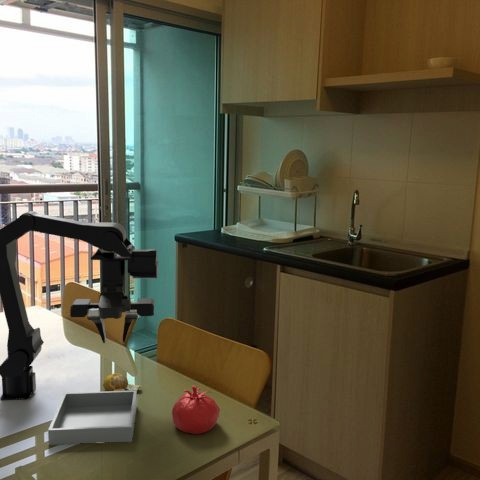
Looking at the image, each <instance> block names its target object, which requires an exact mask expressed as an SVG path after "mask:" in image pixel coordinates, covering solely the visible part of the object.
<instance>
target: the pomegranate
mask: <svg viewBox="0 0 480 480" xmlns="http://www.w3.org/2000/svg"><path fill="white" fill-rule="evenodd" d="M191 389H192V392H191V391H190V390H186V389H182V391H183V392H184V394H183V395H181V396H180V397H179V398H178V399H177V401H175V402H174V404H173V407H172V411H171V416H172V422H173V425H174V426H175V427H176V429H178V430H179V431H182V432H183V433H187V434H188V433H189V434H193V435H200V434H203V433H206V432H209V431H210V430H211V429H213V428H214V427H215V426H216V425H217V422H218V419H219V418H220V410H221V409H220V406H219V405H218V404H217V403H216V401H215V400H214V399H213V398H212V397H210V396H209V395H207V394H206V393H208V391H204V392H199V391H200V390H201V387H197V386H196V385H195V384H194V385H192V386H191ZM209 393H211V394H212V393H213V391H209Z"/></svg>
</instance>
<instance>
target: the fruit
mask: <svg viewBox="0 0 480 480" xmlns="http://www.w3.org/2000/svg"><path fill="white" fill-rule="evenodd" d="M102 386H103V389H104V390H105V391H126V390H131V391H135V390H137V391H139V390H140V389H141V388H142V385H140V384H138V385H136V384H130V383H129V381H128V378H127V377H126V376H125V375H124V374H123V373H122V372H116V373H115V372H114V373H112V374H109V375H107V376H106V377H105V379H104V380H103V384H102Z"/></svg>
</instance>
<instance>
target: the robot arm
mask: <svg viewBox="0 0 480 480" xmlns="http://www.w3.org/2000/svg"><path fill="white" fill-rule="evenodd" d="M29 232H34V233H35V232H36V233H40V234H46V235H50V236H57V237H63V238H68V239H73V240H78V241H82V242H85V243H87V244H89V245H90V246H93V247H95V248H97V250H96V251H95V253H94V254H93V255H91V257H90V260H91V261H99V272H100V273H99V275H100V276H99V278H100V279H99V280H100V286H99V287H100V293H99V296H98V302H95V303H93V302H92V299H91V298H76V299H75V300H74V301H73V302H72V303H71V305H70V309H69V312H70V315H69V316H70V318H85V317H86V316H87V318H86V319H87V321H91V322H93V324H94V325H95V326H96V328H97V331H98V333H99V336H100V338H101V341H102V343H103V344H106V340H107V339H106V338H107V337H106V336H107V335H106V326H105V325H106V324H105V320H106V319H113V320H114V319H115V320H117V319H121V318H122V316H123V313H125V317H124V325H123V332H122V343H123V344H125V342H126V340H127V339H126V338H127V336H128V333H129V330H130V327H131V325H132V323H133V321H134V320H138V319H139V316H140V317H153V316H154V315H155V300H154V298H152V297H142V298H141V297H138V298H137V301H136V302H132V301H131V299H132V298H131V295H127V284H126V283H127V281H126V279H127V277H126V271H127V274H128V275H129V277H132V279H152V280H153V279H158V276H159V260H158V250H157V249H156V248H150V249H136V247H135V246H134V244H133V243H132V242H131V241H130V240H129V238H128V237H127V231H126V229H125V227H124V226H123V225H122V224H121V223H117V222H109V221H108V222H104V221H103V222H85V221H78V220H74V219H70V218H64V217H59V216H54V215H49V214H43V213H38V212H37V211H31V210H29V211H26V212H24V213H22V214H20V215H19V216H18V217H17V218H16V219H14V220H13V221H10V223H8V224H7V225H5V226H1V227H0V300H1V304H2V309H3V312H4V313H3V314H4V316H5V320H6V324H7V325H6V326H7V329H8V335H7V344H6V345H7V346H6V347H7V349H6V350H7V357H6V358H5V360H3V362H2V363H1V364H0V377H1V387H2V394H1V395H0V401H4V400H5V401H7V400H28V399H30V398H31V397H32V395H33V394H34V393H35V390H36V388H37V382H36V372H34V367H33V365H32V364H33V363H34V361H35V359H36V358H37V357H38V356H39V354H40V353H41V351H42V349H43V347H42V345H43V344H44V343H45V341H44V340H43V339H42V335H41V329H40V327H36V328H34V327H33V326H32V325H31V324H30V321H29V317H28V312H27V310H26V304H25V300H24V297H23V293H22V288H21V284H20V279H19V276H18V272H17V268H16V262H17V252H18V248H17V240H19V239H20V238H22V237H23V236H24V235H26V234H28V233H29ZM126 261H127V262H126ZM126 263H127V264H126ZM126 266H127V268H126ZM126 269H127V270H126Z"/></svg>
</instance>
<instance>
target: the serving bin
mask: <svg viewBox="0 0 480 480" xmlns="http://www.w3.org/2000/svg"><path fill="white" fill-rule="evenodd" d="M137 392H138V390H125V391H82V392H81V391H79V392H77V391H75V392H63V394H62V397H61V399H60V401H59V404H58V406H57V409H56V410H55V413H54V416H53V417H52V421H51V422H50V425H49V427H48V430H47V431H48V433H47V434H48V435H47V436H48V437H47V438H48V446H60V445H61V446H62V444H68V445H81V444H80V443H96V442H110V443H109V444H112V443H111V442H128V443H133V439H132V438H133V437H134V431H135V424H134V423H135V422H136V415H137V406H138V393H137ZM78 443H79V444H78Z"/></svg>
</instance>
